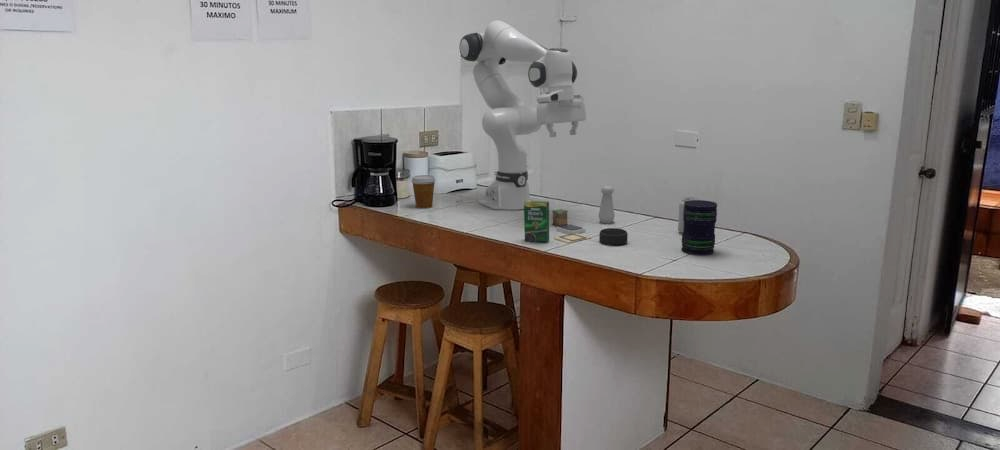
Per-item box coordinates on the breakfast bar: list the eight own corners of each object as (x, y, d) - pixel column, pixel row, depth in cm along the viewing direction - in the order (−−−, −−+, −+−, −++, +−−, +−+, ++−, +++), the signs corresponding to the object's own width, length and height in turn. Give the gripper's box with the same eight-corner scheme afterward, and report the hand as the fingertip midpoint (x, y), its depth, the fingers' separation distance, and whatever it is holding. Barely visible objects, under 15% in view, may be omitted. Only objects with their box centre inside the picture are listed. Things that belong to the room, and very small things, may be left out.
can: (685, 229, 245) (687, 195, 242) (704, 233, 240) (707, 198, 237) (673, 233, 240) (675, 198, 237) (693, 237, 235) (695, 201, 232)
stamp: (551, 225, 252) (552, 210, 250) (560, 223, 254) (560, 208, 253) (559, 227, 249) (559, 212, 247) (567, 225, 251) (568, 210, 250)
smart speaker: (621, 247, 222) (622, 235, 222) (595, 244, 227) (595, 232, 226) (631, 241, 230) (631, 229, 229) (605, 238, 234) (605, 226, 233)
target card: (554, 238, 233) (554, 237, 233) (576, 234, 239) (576, 232, 239) (568, 243, 228) (568, 241, 227) (591, 238, 233) (591, 236, 233)
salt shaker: (614, 224, 252) (615, 188, 249) (597, 223, 253) (598, 187, 250) (614, 220, 257) (616, 185, 254) (598, 220, 258) (599, 184, 255)
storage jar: (694, 257, 212) (697, 207, 208) (674, 249, 220) (676, 201, 217) (721, 253, 216) (724, 205, 212) (700, 245, 224) (703, 199, 221)
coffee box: (523, 240, 231) (523, 201, 227) (526, 238, 233) (526, 199, 230) (546, 243, 227) (547, 203, 224) (549, 241, 230) (550, 201, 227)
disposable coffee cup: (423, 203, 289) (422, 174, 286) (441, 206, 283) (440, 176, 280) (407, 207, 281) (406, 177, 278) (425, 210, 276) (424, 179, 273)
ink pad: (556, 230, 244) (556, 226, 243) (570, 227, 247) (570, 223, 247) (571, 234, 238) (571, 230, 237) (585, 232, 241) (585, 227, 241)
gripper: (576, 95, 255) (578, 133, 257) (532, 97, 243) (535, 138, 245) (589, 93, 250) (591, 133, 252) (544, 96, 238) (547, 138, 240)
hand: (563, 136), depth 248 cm, fingers open, 8 cm apart
